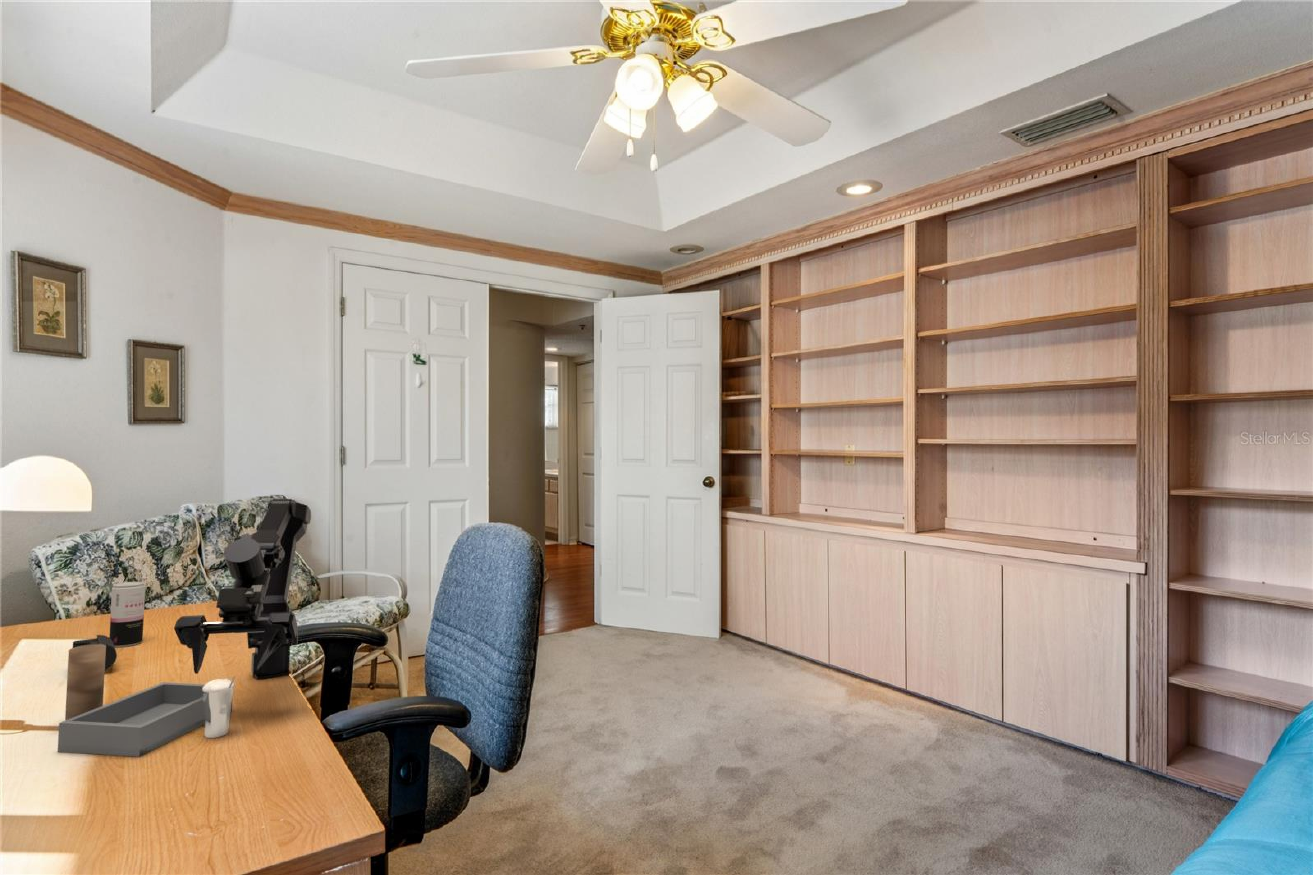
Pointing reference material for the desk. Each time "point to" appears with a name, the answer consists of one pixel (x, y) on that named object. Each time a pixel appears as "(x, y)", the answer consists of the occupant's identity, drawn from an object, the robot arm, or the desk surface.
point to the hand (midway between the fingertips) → (226, 670)
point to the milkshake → (217, 706)
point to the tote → (135, 721)
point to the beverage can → (127, 613)
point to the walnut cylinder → (85, 679)
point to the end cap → (104, 640)
